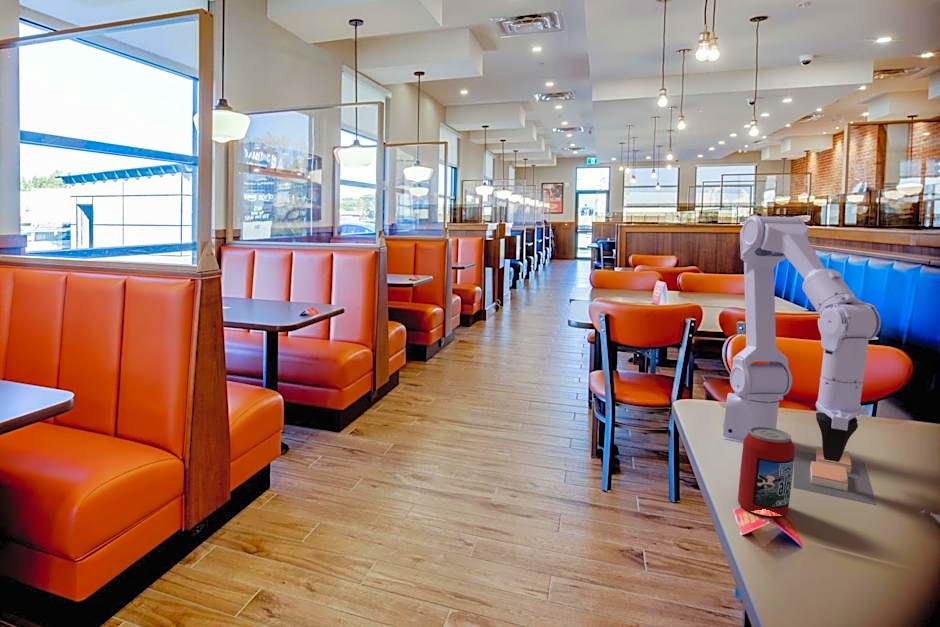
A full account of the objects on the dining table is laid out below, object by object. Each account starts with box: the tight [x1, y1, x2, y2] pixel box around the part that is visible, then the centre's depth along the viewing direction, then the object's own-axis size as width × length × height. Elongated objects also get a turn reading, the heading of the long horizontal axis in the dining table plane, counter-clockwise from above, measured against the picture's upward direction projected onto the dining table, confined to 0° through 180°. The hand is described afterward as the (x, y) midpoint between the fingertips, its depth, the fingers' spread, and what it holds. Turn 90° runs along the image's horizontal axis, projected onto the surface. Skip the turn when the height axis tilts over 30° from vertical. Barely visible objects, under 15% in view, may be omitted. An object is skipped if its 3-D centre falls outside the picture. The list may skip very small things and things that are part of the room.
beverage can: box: [737, 427, 796, 517], centre depth 85 cm, size 7×7×12 cm
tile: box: [810, 461, 848, 491], centre depth 96 cm, size 5×1×7 cm
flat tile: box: [815, 446, 852, 473], centre depth 103 cm, size 5×7×1 cm
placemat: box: [793, 449, 877, 506], centre depth 98 cm, size 11×19×1 cm, turn 150°
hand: (831, 459), depth 94 cm, fingers closed
